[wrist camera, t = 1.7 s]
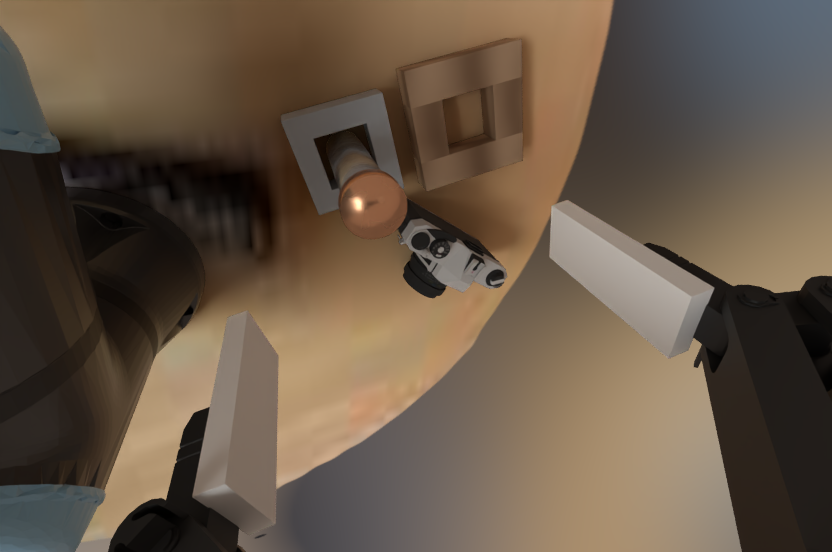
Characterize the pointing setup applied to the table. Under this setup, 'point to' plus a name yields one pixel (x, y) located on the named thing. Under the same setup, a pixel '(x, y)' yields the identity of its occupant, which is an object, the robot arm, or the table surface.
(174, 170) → the table surface
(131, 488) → the table surface
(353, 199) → the lock pin
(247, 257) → the table surface
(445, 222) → the camera
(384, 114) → the plate
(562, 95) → the table surface
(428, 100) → the dock block
